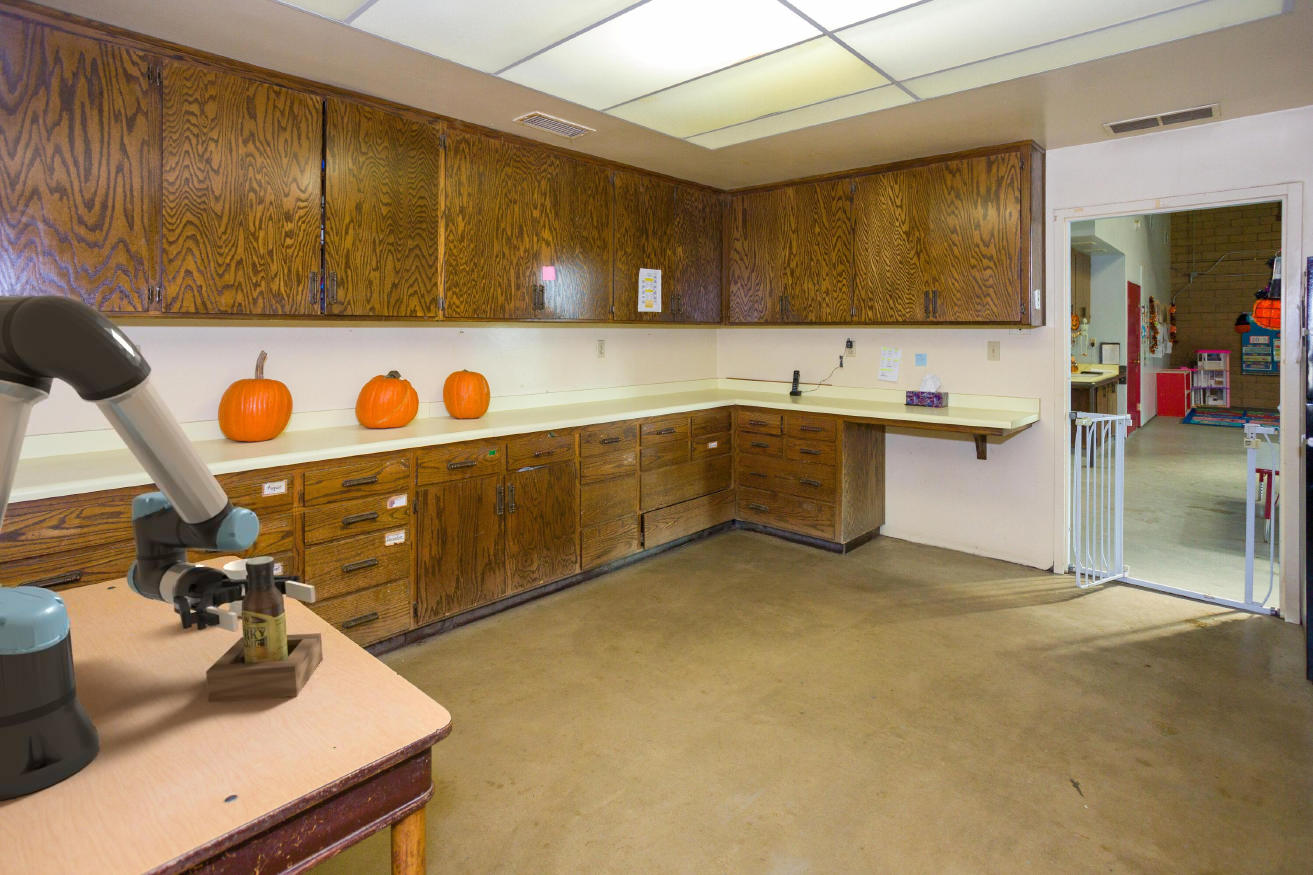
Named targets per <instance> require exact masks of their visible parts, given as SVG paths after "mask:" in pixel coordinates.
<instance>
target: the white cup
mask: <svg viewBox="0 0 1313 875" xmlns="http://www.w3.org/2000/svg"><path fill="white" fill-rule="evenodd" d="M249 559H250V558H245V559H238V560H234V561H230V562H227V563H226V564H224V565H223V566H222V571H223V572H224V573H225V574H226V575H227V576H228V577H229V578H230V579H234V580H239V579H246V575H248V573H247V571H246V566H245V564H246V561H247V560H249ZM243 595H245V588H242V595H241V596H243ZM241 609H242V601H234V602H232V603H228V611H230V612H234V613H237V618H238V617H239V618H240V617H241V618H242V613H241Z"/></svg>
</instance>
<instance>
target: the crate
mask: <svg viewBox="0 0 1313 875" xmlns="http://www.w3.org/2000/svg"><path fill="white" fill-rule="evenodd" d="M322 644H323V643H322V632H318V633H317V632H315V633H300V634H299V633H298V634H295V633H294V634H287V651H288V658H287V659H286V660H285V661H275V662H257V663H245V654H244V639H243V636H242V637H240V638H239V639H238V640H237V641H236V642H234V644H233V645H232V646H231V647H230V648H229V649H228V650H227V651H226V652H225V653H224V654H223V655H222V656H220V657H219V659H218V660H216V661H215V662H214V663H213V665H211V666H210V667H209V668H208V669H207V670H206V671H205V673H206V685H207V698H208V702H209V703H210V702H211V703H212V702H225V701H230V702H231V701H244V700H246V701H247V700H258V699H260V700H261V699H274V697H278V698H285V697H284V696H293V697H298V696H299V694H300V693H301V691H302V690H303V689H302V688H304V687H305V686H306V684H307V683H308V682H309V680H310V679H311V677H312V676H313V675H314V673H315V672H316V671H315V670H317V669H318V668H317V667H319V666H320V665H321V664H320V662H321V661H322V660H324V659H323V658H324V657H323V645H322ZM322 662H323V661H322ZM322 662H321V663H322ZM319 664H320V665H319ZM318 665H319V666H318ZM316 668H317V669H316ZM314 671H315V672H314ZM313 672H314V673H313ZM312 674H313V675H312ZM311 675H312V676H311ZM310 676H311V677H310ZM309 678H310V679H309ZM307 681H308V682H307ZM306 682H307V683H306ZM304 685H305V686H304ZM299 692H300V693H299ZM297 695H298V696H297ZM272 697H273V698H272Z"/></svg>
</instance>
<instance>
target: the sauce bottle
mask: <svg viewBox="0 0 1313 875" xmlns="http://www.w3.org/2000/svg"><path fill="white" fill-rule="evenodd" d="M248 559H249V560H247V561H246V564H245V566H246V571H247V573H248V588H249V590H248V592H247V593H246V595H245V596H244V598H243V601H242V609H241V613H242V617H241V623H242V626H241V627H242V637H243V639H244V654H245V663H257V662H275V661H285V660H286V659H287V658H288V651H287V635H288V634H287V625H286V623H287V620H286V610H285V605H284V604H285V603H284V601H285V600H284V599H285V598H284V595H282V594H281V593H280V591H279V590H278V589H277V588H276V587H275V580H274V575H275V574H274V569H275V558H274V557H272V556H268V555H267V556H263V555H262V556H256V557H251V558H248Z"/></svg>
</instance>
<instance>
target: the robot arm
mask: <svg viewBox="0 0 1313 875" xmlns="http://www.w3.org/2000/svg"><path fill="white" fill-rule="evenodd" d="M152 373H153V370H152V367H151V365H149V363H148V362H147V360H146V358H145V357H144V356H143V354H142V353H141V352H140V350H139V348H138V347H137V345H135V344H134V342H132V340H131V339H130V338H129V337H128V336H127V335H126V334H125V332H123V331H122V330H121V329H120V328H119V327H118V326H117V325H116V324H115V322H113V321H112V320H110V319H109V318H108V317H107V316H106V315H105V314H103V313H102V312H100V311H99V310H98V309H96V308H94V307H93V306H90V305H89V304H86V303H85V302H83V301H80V300H78V299H75V298H72V297H68V296H64V295H63V296H62V295H55V294H54V295H53V294H51V295H50V294H47V295H46V294H45V295H20V296H18V295H16V296H12V295H11V296H10V295H9V296H5V295H0V534H1V531H2V527H3V525H4V520H5V517H6V513H7V509H8V504H9V502H10V497H11V493H12V488H13V485H14V481H15V477H16V476H15V475H16V472H17V468H18V464H19V462H20V461H19V460H20V457H21V452H22V448H23V444H24V441H25V437H26V434H27V433H26V432H27V430H28V429H27V428H28V424H29V421H30V416H31V412H32V409H33V407H34V405H36V404H39V403H41V402H43V401H44V400H47V399H48V398H49V396H50V393H51V389H52V385H53V382H54V381H53V380H54V379H59V380H60V381H63V382H64V383H66V384H68V385H69V386H70V387H72V389H73V390H75V392H76V393H77V395H79V397H80V398H81V400H83V401H84V402H86V403H91V404H95V405H96V407H98V410H100V412H101V413H102V414H103V415H104V417H105V418H106V420H107V421H108V422H109V424H110V425H111V427H112V428H113V429H114V430H115V432H116V433H117V435H118V436H119V437H120V438H121V440H122V441H123V442H124V444H125V445H126V446H127V448H128V450H130V452H131V453H132V454H133V456H134V458H135V459H136V460H137V461H138V463H139V464H140V465H141V467H142V468H143V469H144V471H145V472H146V473H147V474H148V476H149V478H150V479H151V480H152V482H153V483H154V485H156V487H157V488H158V489H159V491H154V492H153V491H152V492H151V491H150V492H147V493H142V494H140V495H137V496H135V497H134V498H133V499H132V500H131V519H130V520H131V522H132V530H133V538H134V545H135V546H134V547H135V554H136V557H135V559H136V560H134V562H132V564H131V565H130V566H129V569H128V571H127V575H126V583H127V584H128V587H129V588H130V590H132V592H134V593H136V594H138V595H141V596H142V597H144V598H146V599H148V600H156V601H159V602H164V603H167V604H171V605H173V610H174V613H176V614H178V615H179V618H180V623H181V625H182V626H181V627H182V629H185V630H186V629H190V628H192V626H193V625H194V624H196V626H197V627H196V628H197V630H198V631H202V630H206V629H207V626H209V627H216V628H219V629H223V630H224V631H225V630H226V631H230V632H232V633H235V632H238V631H239V622H238V616H237V613H234V612H230V610H226V609H222V608H220V607H221V606H222V605H225V604H229V603H232V602H234V601H243V598H244V596H245V595H246V593H247V592H248V590H249V588H248V575H246V579H239V580H234V579H230V578H229V577H228V576H227V575H226V574H225V573H224V572H223V570H221V569H219V568H214V567H210V566H205V565H204V564H203V565H202V564H197V563H192V562H189V561H188V554H187V552H188V549H194V550H203V551H204V550H205V551H213V552H214V551H215V552H221V553H224V552H242V551H245V550H247V549H249V548H250V547H251V546H252V545H253V544H254V542H255V541H256V540H257V538H258V536H259V532H260V521H259V518H258V516H257V515H256V513H255V512H254V511H252V510H251V509H247V508H244V507H241V506H239V507H235V506H234V505H233V503H232V501H231V500H230V499H229V497H228V496H227V493H226V492H225V491H224V490H223V488H222V487H221V484H220V483H219V482H218V480H217V479H216V477H215V476H214V474H213V473H212V471H211V470H210V469H209V467H208V465H207V464H206V462H205V461H204V459H203V458H202V456H201V455H200V454H199V452H198V450H197V448H196V447H195V445H193V443H192V441H191V440H190V438H189V437H188V435H187V434H186V432H185V431H184V429H183V428H182V426H181V425H180V424H179V422H178V420H177V419H176V418H175V416H174V414H173V413H172V411H171V410H170V408H169V406H168V405H167V404H166V402H165V401H164V400H163V399H164V398H162V396H161V394H160V393H159V392H158V390H157V389H156V387H155V386H154V384H153V383H152V381H151V376H152ZM274 580H275V587H276V588H277V589H278V590H279V591H280V593H281V594H282V596H284V595H285V596H286V598H289V599H294V600H299V601H302V602H306V603H309V604H313V603H316V592H315V585H311V584H310V585H309V584H305V583H302V582H301V575H297V574H283V575H281V574H276V575H275V574H274ZM242 588H245V595H243V596H241V595H242ZM191 611H193V612H191ZM100 749H101V745H100V738H99V733H98V729H97V728H96V726H95V725H94V724H93V722H92V720H91V718H90V717H89V715H88V713H87V711H86V709H85V708H84V707H83V704H82V703H81V701H80V699H79V698H78V691H77V685H76V674H75V665H74V655H73V646H72V636H71V619H70V617H69V615H68V610H67V607H66V603H65V601H64V599H63V598H62V596H61V595H60V594H58V593H57V592H55V591H53V590H50V589H48V588H43V587H38V586H30V585H29V586H27V585H19V586H17V587H9V586H2V583H1V582H0V801H3V800H8V799H12V798H16V797H20V796H24V795H27V794H30V793H33V792H36V791H39V790H43V789H45V788H48V787H50V786H52V785H55V784H57V783H58V782H61V781H64V780H65V779H67V778H69V777H71V776H72V775H74V774H76V773H78V772H79V771H81V770H83V769H84V768H85V767H87V766H88V765H89V764H90V763H91V762H92V761H93V760H94V759H95V758H96V757H97V755H98V754H99V752H100Z"/></svg>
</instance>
